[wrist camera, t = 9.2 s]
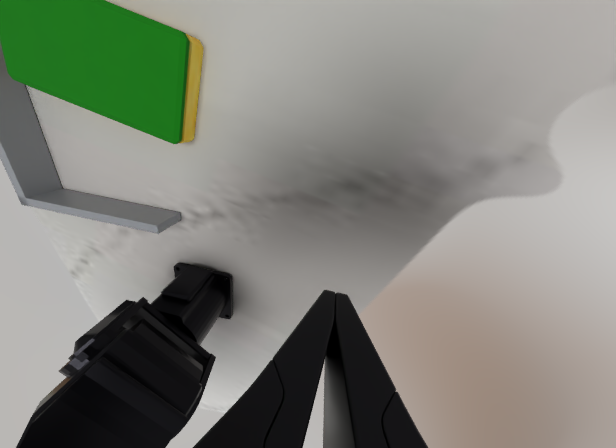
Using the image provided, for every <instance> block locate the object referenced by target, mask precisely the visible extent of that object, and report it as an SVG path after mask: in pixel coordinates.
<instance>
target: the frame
mask: <svg viewBox="0 0 616 448" xmlns="http://www.w3.org/2000/svg"><path fill="white" fill-rule="evenodd" d="M0 159H1V161H2V163H3V165H4V167H5V170H6V172H7V174H8V176H9V178H10V180H11V182H12V185H13V187H14V189H15V191H16V193H17V195H18V198H19V200H20V202H21V204H22V205H27V206H31V207H36V208H40V209H45V210H50V211H55V212H59V213H64V214H69V215H73V216H78V217H83V218H87V219H92V220H97V221H101V222H106V223H111V224H115V225H120V226H125V227H129V228H134V229H139V230H143V231H148V232H153V233H157V234H159V233H160V232H162V231H164V230H165V229H167V228H169V227H170V226H172V225H173V224H175V223H177V222H178V221H180V220H181V215H180V212H176V211H171V210H166V209H161V208H156V207H151V206H146V205H141V204H136V203H131V202H126V201H121V200H117V199H112V198H107V197H102V196H97V195H92V194H87V193H82V192H77V191H72V190H67V189H63V188H62V186H61V183H60V180H59V177H58V175H57V172H56V169H55V166H54V164H53V161H52V158H51V155H50V153H49V150H48V147H47V144H46V142H45V139H44V136H43V133H42V131H41V128H40V125H39V122H38V120H37V117H36V114H35V111H34V109H33V106H32V103H31V100H30V98H29V95H28V92H27V89H26V87H25V84H23V83H20V82H18V81H15V80H13V79H12V78H11V76H10V75H9V74H8V72H7V68H6V63H5V59H4V55H3V51H2V46H1V42H0Z"/></svg>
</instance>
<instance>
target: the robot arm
mask: <svg viewBox="0 0 616 448" xmlns="http://www.w3.org/2000/svg"><path fill="white" fill-rule="evenodd" d="M174 273H175V279H174V280H173V281H172V282H171V283H170V284H169V285H168V286H167V287H166V288H165V289H164V290H163V291H162V292H161V295H160V296H159V297H158V298H156V299H155V300H154V301H153V302H152V303H151V304H149V303H148V300H146V299H145V298H144V297H143V298H141V299H140V300H139V301H138V302H135V301H134V302H133V301H129V300H126V301H125V302H123V303H122V304H121V305H120V306H118V307H117V308H116V309H115V310H114V311H112V312H111V313H110V314H109V315H108V316H106V317H105V318H104V319H103V320H101V321H100V322H99V323H98V324H96V325H95V326H94V327H93V328H92V329H90V330H89V331H88V332H87V333H85V334H84V335H83V336H82V337H80V338H79V339H78V340H77V341H76V342H75V347H74V354H73V355H71V356H70V357H69V359H70V361H69V362H68V363H67V364H66V365H65V366H64V367H62V368H61V370H59V372H60V373H62V374H63V375H65V376H66V378H65V379H64V380H63V381H62V382H61V383H60V384H59V385H58V386H57V387H55V388H54V389H53V390H52V391H51V392H50V393H49V394H48V395H47V396H46V397H45V398H44V399H43V400H42V401H41V402H40V403H39V405H38V406H37V408H36V410H35V412H34V413H33V415H32V417H31V419H30V421H29V423H28V425H27V427H26V429H25V431H24V433H23V435H22V437H21V439H20V441H19V443H18V445H17V447H16V448H165V447H166V446H167V445H168V443H169V441H170V440H171V439H172V438H174V437H175V436H176V435H177V434H178V433H179V432H180V431H181V430H182V428H183V427H184V426H185V425H186V424H187V422H188V421H189V420H190V418H191V417H192V415H193V413H194V412H195V410H196V408H197V406H198V404H199V402H200V400H201V397H202V395H203V392H204V389H205V386H206V383H207V381H208V378H209V375H210V372H211V369H212V367H213V364H214V361H215V358H216V357H215V356H214V355H213V354H210V353H208V352H207V351H206V350H205V349H204V348H202V347H201V346H200V344H201V343H202V341H203V340H204V338H205V337H206V335H207V334H208V332H209V331H210V329H211V327H212V326H213V324H214V323H215V321H216V320H217V318H218V317H221V318H225V319H230V318H231V317H232V315H233V301H232V277H231V275H229V274H227V273H222V272H218V271H213V270H209V269H204V268H200V267H195V266H191V265H186V264H182V263H177V264H176V265H175V266H174ZM226 278H227V279H226ZM324 360H325V377H324V428H323V448H428V446H427V445H426V443H425V441H424V440H423V438H422V436H421V435H420V433H419V431H418V429H417V428H416V426H415V424H414V422H413V420H412V418H411V417H410V415H409V413H408V411H407V409H406V407H405V406H404V404H403V402H402V400H401V398H400V396H399V394H398V392H395V391H396V388H395V386H394V384H393V382H392V380H391V378H390V377H389V375H388V373H387V371H386V369H385V367H384V365H383V363H382V361H381V359H380V357H379V355H378V353H377V351H376V349H375V347H374V345H373V344H372V342H371V339H370V338H369V336H368V334H367V332H366V330H365V328H364V326H363V324H362V322H361V320H360V318H359V316H358V314H357V312H356V310H355V308H354V306H353V305H352V303H351V301H350V299H349V297H348V295H346V294H342V293H336V294H335V292H333V291H329V290H324V291H323V292H322V294H321V295H320V296H319V298H318V299H317V300H316V301H315V303H314V304H313V305H312V307H311V308H310V309H309V311H308V312H307V313H306V315H305V316H304V317H303V319H302V320H301V321H300V323H299V324H298V325H297V327H296V328H295V329H294V331H293V332H292V333H291V335H290V336H289V337H288V339H287V340H286V341H285V343H284V344H283V345H282V347H281V348H280V349H279V351H278V352H277V353H276V355H275V356H274V357H273V360H271V361H270V362H269V364H268V365H267V366H266V368H265V369H264V370H263V371H262V373H261V374H260V375H259V376H258V378H257V379H256V380H255V381H254V383H253V384H252V385H251V386H250V387H249V389H248V390H247V391H246V392H245V393H244V394H243V395H242V396H241V397H240V399H239V400H238V401H237V402H236V403H235V404H234V405H233V406H232V407H231V408H230V409H229V410H228V411H227V412H226V413H225V415H224V416H223V417H222V418H221V419H220V420H219V421H218V422H217V423H216V424H215V425H214V426H213V427H212V428H211V429H210V430H209V431H208V432H207V433H206V434H205V435H204V436H203V437H202V439H201V440H200V441H199V442H198V443H197V444H196V445H195V446H194V447H193V448H302V447H303V443H304V439H305V435H306V432H307V428H308V424H309V420H310V416H311V412H312V408H313V404H314V400H315V396H316V392H317V388H318V384H319V380H320V376H321V372H322V368H323V364H324Z"/></svg>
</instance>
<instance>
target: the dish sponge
mask: <svg viewBox="0 0 616 448" xmlns="http://www.w3.org/2000/svg"><path fill="white" fill-rule="evenodd" d="M0 42H1V46H2V51H3V55H4V59H5V63H6V68H7V72H8V74H9V75H10V76H11V78H12V79H13V80H15V81H18V82H20V83H23V84H25V85H28V86H30V87H33V88H35V89H38V90H40V91H43V92H45V93H48V94H50V95H53V96H55V97H58V98H60V99H63V100H65V101H68V102H70V103H73V104H75V105H78V106H80V107H83V108H85V109H88V110H90V111H93V112H95V113H98V114H100V115H103V116H105V117H108V118H110V119H113V120H115V121H118V122H120V123H123V124H125V125H128V126H130V127H133V128H135V129H138V130H140V131H143V132H145V133H148V134H150V135H153V136H155V137H158V138H160V139H163V140H165V141H168V142H170V143H173V144H178V143H185V142H190V141H192V140H193V139H194V134H195V124H196V115H197V105H198V96H199V86H200V77H201V67H202V58H203V46H202V44H201V42H200V40H198V39H196V38H194V37H192V36H190V35H187V34H185V33H184V32H181V31H179V30H177V29H174V28H172V27H169V26H167V25H164V24H162V23H159V22H157V21H154V20H152V19H149V18H147V17H144V16H142V15H139V14H137V13H134V12H132V11H129V10H127V9H124V8H122V7H119V6H117V5H115V4H112V3H110V2H107V1H105V0H0Z"/></svg>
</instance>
